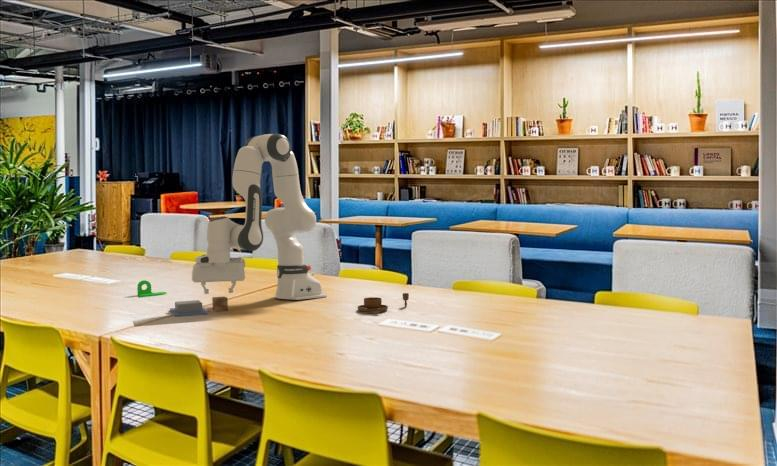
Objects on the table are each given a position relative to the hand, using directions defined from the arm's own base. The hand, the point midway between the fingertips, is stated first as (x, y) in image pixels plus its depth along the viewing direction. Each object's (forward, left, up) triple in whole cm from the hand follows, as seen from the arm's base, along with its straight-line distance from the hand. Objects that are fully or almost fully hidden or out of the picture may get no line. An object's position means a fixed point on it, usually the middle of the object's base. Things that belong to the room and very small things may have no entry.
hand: (218, 293), depth 261 cm
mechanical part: (+20, -51, -7) cm, 55 cm away
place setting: (-58, +28, -8) cm, 65 cm away
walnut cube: (-1, 0, -7) cm, 7 cm away
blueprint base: (+11, 0, -7) cm, 13 cm away
